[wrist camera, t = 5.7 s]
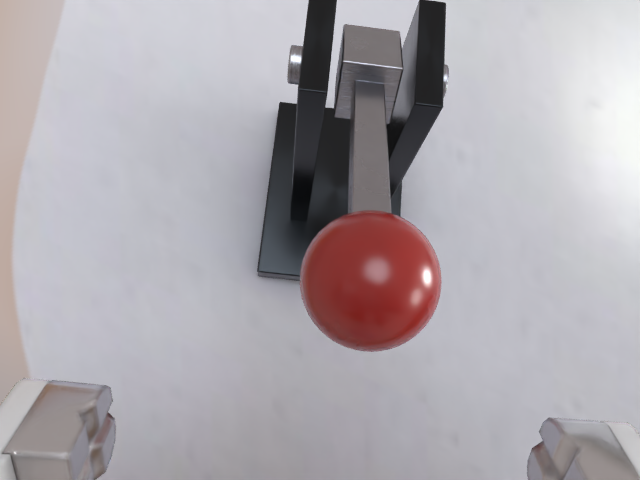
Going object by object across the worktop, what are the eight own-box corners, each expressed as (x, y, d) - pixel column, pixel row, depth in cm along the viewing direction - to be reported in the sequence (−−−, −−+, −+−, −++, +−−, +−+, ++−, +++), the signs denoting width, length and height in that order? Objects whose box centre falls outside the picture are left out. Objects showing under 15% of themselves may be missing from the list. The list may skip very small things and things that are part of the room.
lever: (426, 383, 14) (469, 305, 11) (289, 370, 14) (300, 286, 11) (401, 99, 23) (421, 17, 20) (317, 89, 22) (327, 5, 20)
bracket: (392, 291, 31) (486, 202, 17) (257, 276, 31) (240, 173, 17) (401, 126, 34) (486, -63, 20) (279, 111, 34) (279, -92, 20)
